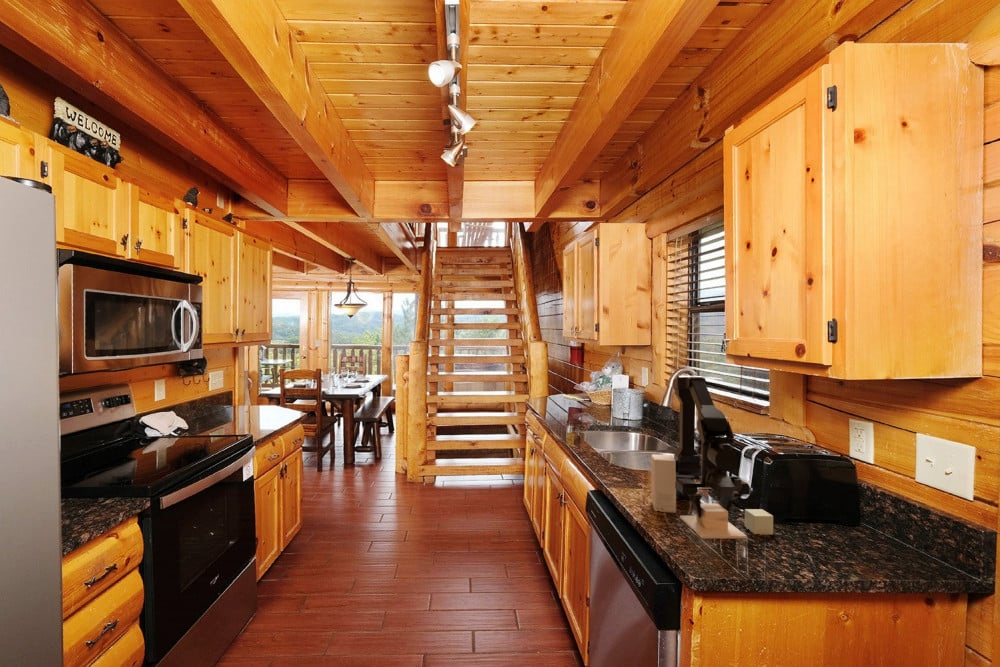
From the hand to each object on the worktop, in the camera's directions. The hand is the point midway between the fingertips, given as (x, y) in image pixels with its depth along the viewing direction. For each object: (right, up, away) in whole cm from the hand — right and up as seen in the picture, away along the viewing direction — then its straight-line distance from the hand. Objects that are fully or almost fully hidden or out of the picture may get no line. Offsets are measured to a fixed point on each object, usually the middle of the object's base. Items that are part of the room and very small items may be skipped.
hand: (711, 517), depth 132 cm
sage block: (+12, -3, -2) cm, 13 cm away
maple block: (0, -2, 0) cm, 2 cm away
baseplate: (0, -3, 0) cm, 3 cm away
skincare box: (-9, -3, +15) cm, 17 cm away
